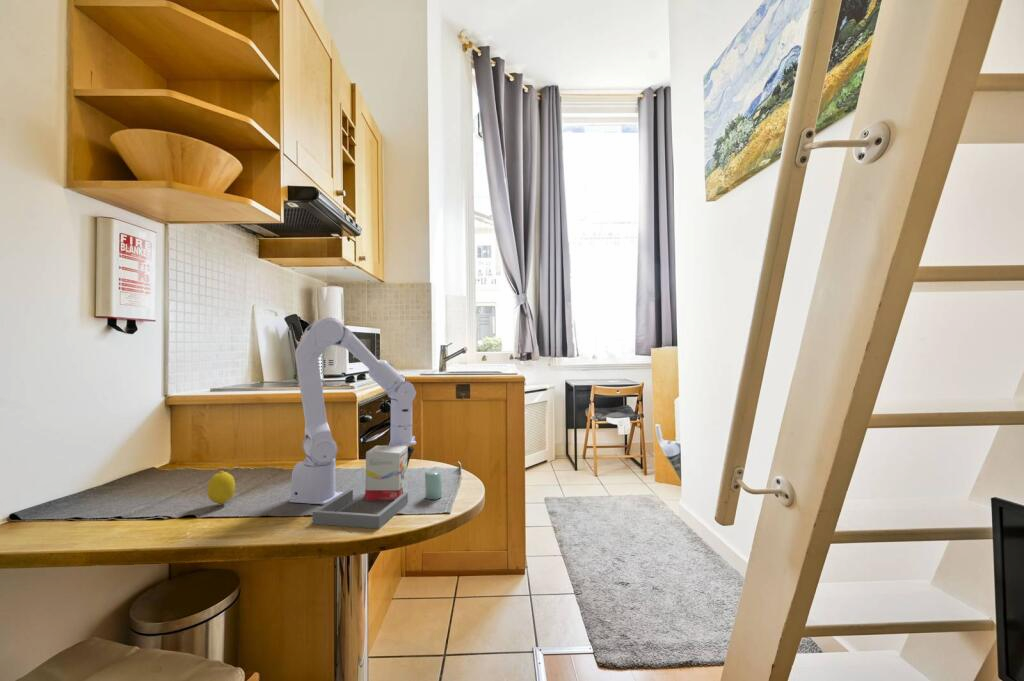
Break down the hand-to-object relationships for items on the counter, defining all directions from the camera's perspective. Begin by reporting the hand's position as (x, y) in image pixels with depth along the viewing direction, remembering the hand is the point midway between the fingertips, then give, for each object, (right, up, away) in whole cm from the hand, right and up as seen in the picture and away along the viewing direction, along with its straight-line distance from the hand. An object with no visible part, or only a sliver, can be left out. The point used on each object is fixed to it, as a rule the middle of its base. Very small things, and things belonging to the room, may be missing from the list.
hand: (401, 475), depth 124 cm
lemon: (-38, -2, -16) cm, 42 cm away
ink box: (-1, -3, -9) cm, 9 cm away
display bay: (-3, -2, -21) cm, 22 cm away
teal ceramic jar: (+11, -2, -10) cm, 15 cm away
